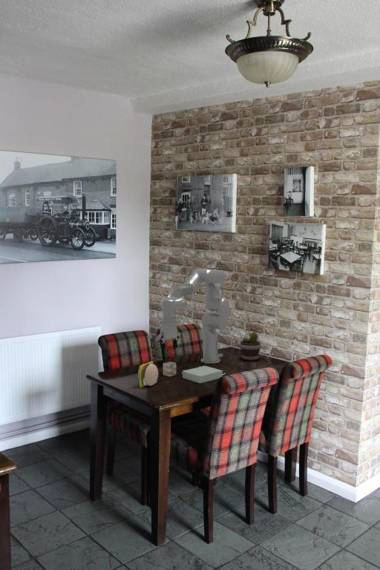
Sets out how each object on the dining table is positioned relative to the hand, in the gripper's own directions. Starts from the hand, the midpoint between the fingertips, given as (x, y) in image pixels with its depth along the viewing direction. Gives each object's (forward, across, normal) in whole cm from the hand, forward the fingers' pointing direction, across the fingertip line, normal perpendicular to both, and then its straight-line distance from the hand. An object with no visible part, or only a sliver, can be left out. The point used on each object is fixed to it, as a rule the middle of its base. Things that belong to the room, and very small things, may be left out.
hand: (169, 348), depth 333 cm
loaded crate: (+16, -1, 0) cm, 16 cm away
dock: (+16, -11, +18) cm, 26 cm away
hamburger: (+17, +21, +8) cm, 28 cm away
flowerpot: (+15, -64, +8) cm, 66 cm away
